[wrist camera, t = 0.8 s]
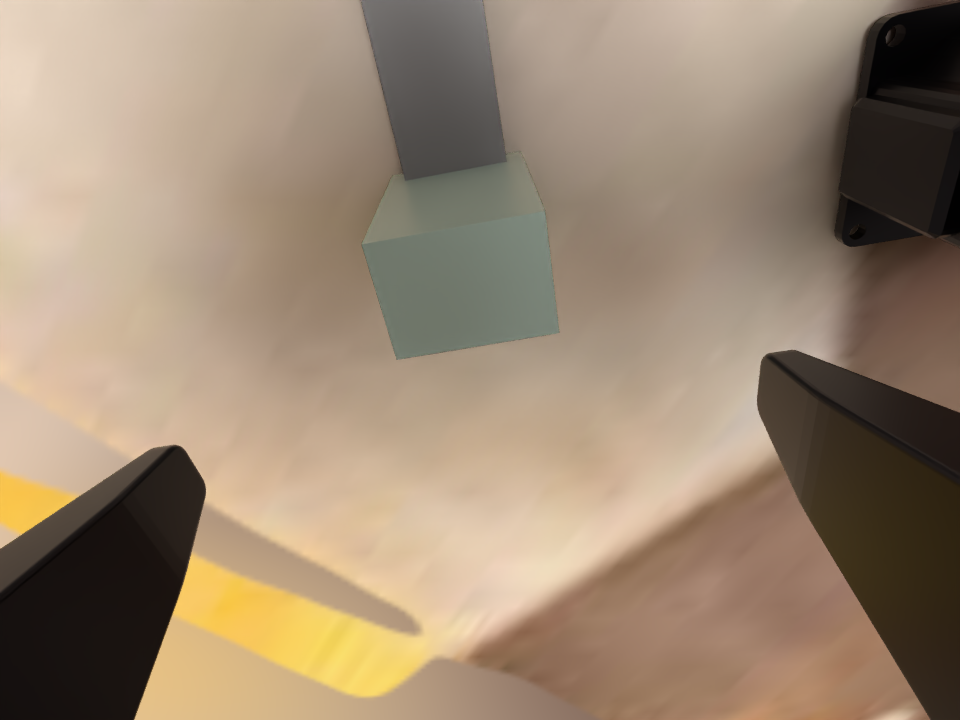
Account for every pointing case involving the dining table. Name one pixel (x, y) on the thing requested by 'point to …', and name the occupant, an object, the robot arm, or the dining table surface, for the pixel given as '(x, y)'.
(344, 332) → the dining table surface
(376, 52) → the grey piece
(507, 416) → the dining table surface
